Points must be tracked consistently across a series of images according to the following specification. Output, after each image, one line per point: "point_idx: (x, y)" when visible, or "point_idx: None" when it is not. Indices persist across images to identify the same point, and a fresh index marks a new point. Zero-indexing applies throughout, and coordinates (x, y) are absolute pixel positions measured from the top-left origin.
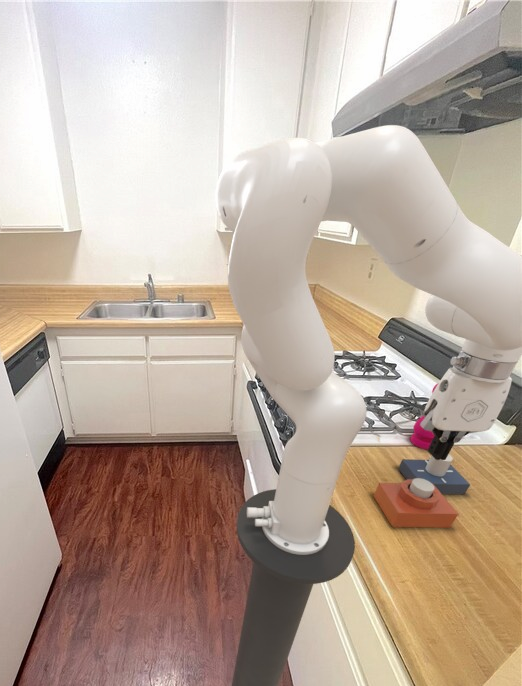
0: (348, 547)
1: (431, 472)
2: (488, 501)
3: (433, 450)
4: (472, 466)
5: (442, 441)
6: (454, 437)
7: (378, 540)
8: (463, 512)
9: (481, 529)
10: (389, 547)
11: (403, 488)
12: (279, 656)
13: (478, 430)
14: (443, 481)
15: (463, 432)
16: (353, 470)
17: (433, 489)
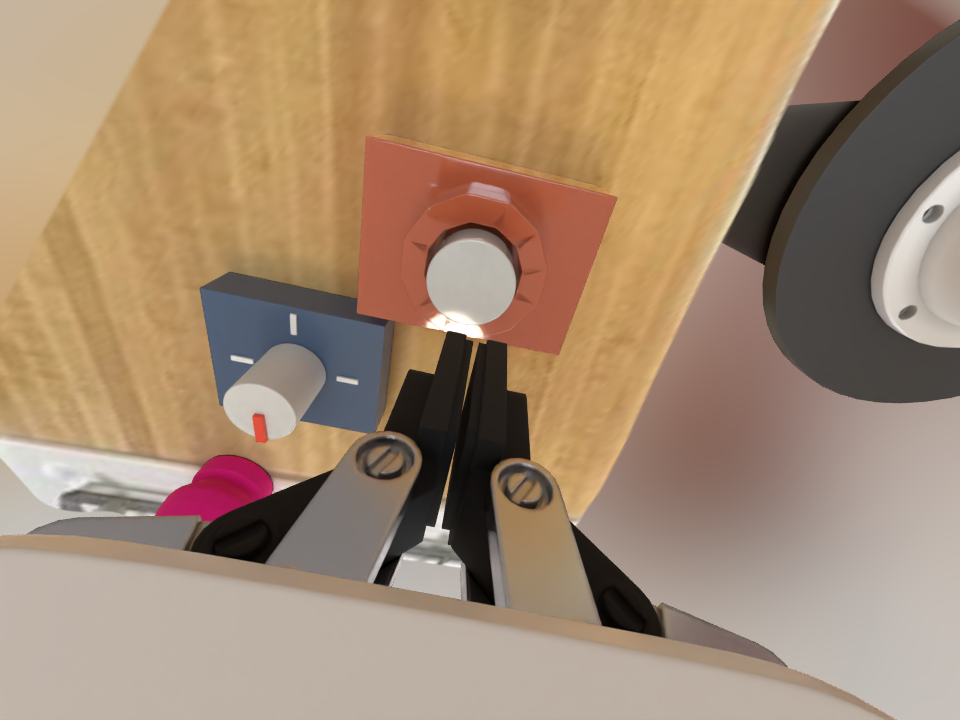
0: (923, 90)
1: (318, 364)
2: (159, 224)
3: (526, 409)
4: (129, 374)
5: (529, 467)
6: (411, 490)
7: (702, 134)
8: (286, 194)
9: (269, 98)
10: (692, 90)
11: (536, 296)
12: None
13: (106, 579)
14: (296, 321)
15: (322, 546)
16: (529, 427)
17: (448, 246)
